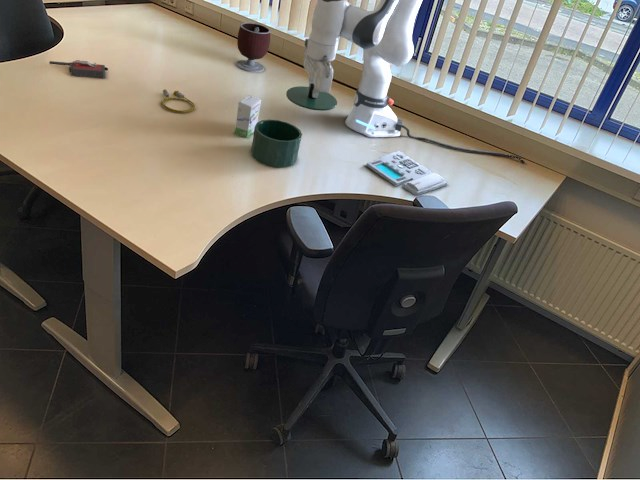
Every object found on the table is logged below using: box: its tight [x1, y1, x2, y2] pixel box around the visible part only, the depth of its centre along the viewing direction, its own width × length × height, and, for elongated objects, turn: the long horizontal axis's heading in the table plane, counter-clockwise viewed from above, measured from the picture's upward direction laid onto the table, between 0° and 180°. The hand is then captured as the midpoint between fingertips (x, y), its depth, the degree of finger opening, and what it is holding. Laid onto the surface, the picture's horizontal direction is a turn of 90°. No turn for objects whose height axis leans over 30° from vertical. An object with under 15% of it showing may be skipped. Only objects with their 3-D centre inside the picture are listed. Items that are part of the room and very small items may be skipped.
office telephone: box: [366, 150, 449, 196], centre depth 192 cm, size 23×3×20 cm
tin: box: [250, 118, 303, 169], centre depth 180 cm, size 15×15×10 cm
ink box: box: [234, 94, 262, 139], centre depth 189 cm, size 8×5×12 cm, turn 162°
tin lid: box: [285, 83, 338, 112], centre depth 171 cm, size 16×16×5 cm
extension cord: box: [160, 89, 196, 114], centre depth 198 cm, size 12×16×2 cm
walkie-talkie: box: [48, 59, 109, 79], centre depth 201 cm, size 9×4×20 cm
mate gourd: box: [235, 22, 271, 73], centre depth 237 cm, size 16×14×20 cm
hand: (312, 94), depth 171 cm, fingers closed on tin lid, 2 cm apart
